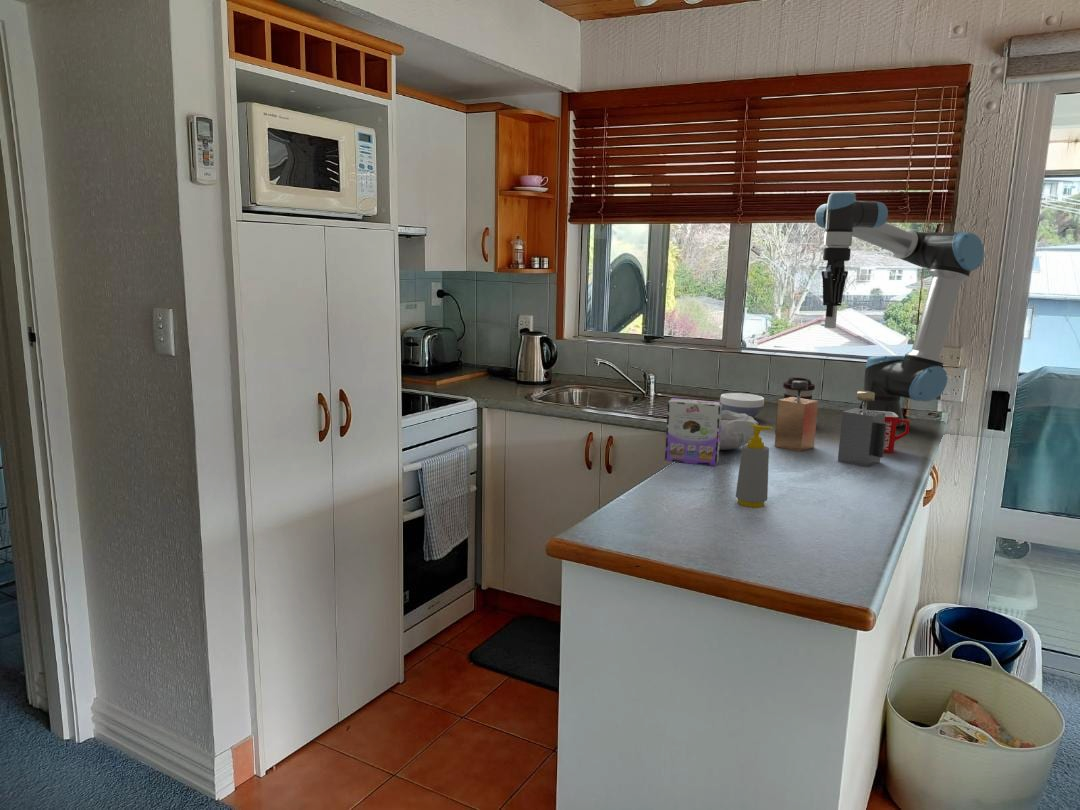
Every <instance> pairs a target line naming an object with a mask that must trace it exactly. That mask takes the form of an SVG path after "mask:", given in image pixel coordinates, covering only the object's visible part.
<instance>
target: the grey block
mask: <svg viewBox="0 0 1080 810" xmlns="http://www.w3.org/2000/svg"><path fill="white" fill-rule="evenodd" d="M884 421H885V413H884V412H878V411H871V410H866V413H862V409H859V407H854V408H851V409H847V410H844V411H842V415H841V426H840V434H839V435H840V436H839V445H838V453H837V454H838V456H837V462H842V463H846V464H849V465H856V466H859V467H865V468H870V467H872V466H874V465H876V464H880V462H881V458H883V457H884V453H883V452H884V443H885V434H886V425H887V424H884Z"/></svg>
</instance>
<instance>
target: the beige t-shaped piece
mask: <svg viewBox="0 0 1080 810" xmlns="http://www.w3.org/2000/svg"><path fill="white" fill-rule="evenodd" d="M874 398H875V393H874V392H869V391H864V390H858V391H857V393H856V400H858V401H863V408H862V413H866V408H867V401H874Z"/></svg>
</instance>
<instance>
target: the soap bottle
mask: <svg viewBox="0 0 1080 810" xmlns="http://www.w3.org/2000/svg"><path fill="white" fill-rule="evenodd" d="M750 426H753V427H754V436H753V437H751V440H750V441H748V443H747V444H745V445H743V446H741V455H740V460H739V461H740V462H739V469H738V476H737V477H738V478H737V483H736V492H735V498H737V503H738V504H739V505H742V506H744V507H749V508H761V507H763V506H764V504H765V502H767V501H768V489H769V486H768V485H769V462H770V461H769V458H770V456H769V455H770V448H769V447H768V446H766V445H765V443H764V442H763V441H762V439H763V438H762V437H761V436H760V435H759V434H761V431H766V430H767V431H768V430H774V427H772V426H764V425H754V424H750Z"/></svg>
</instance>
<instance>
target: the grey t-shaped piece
mask: <svg viewBox="0 0 1080 810" xmlns="http://www.w3.org/2000/svg"><path fill="white" fill-rule="evenodd" d="M792 389H796V390H798V391H797V401H800V398H801V390H807V389H808V382H806V381H792Z"/></svg>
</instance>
